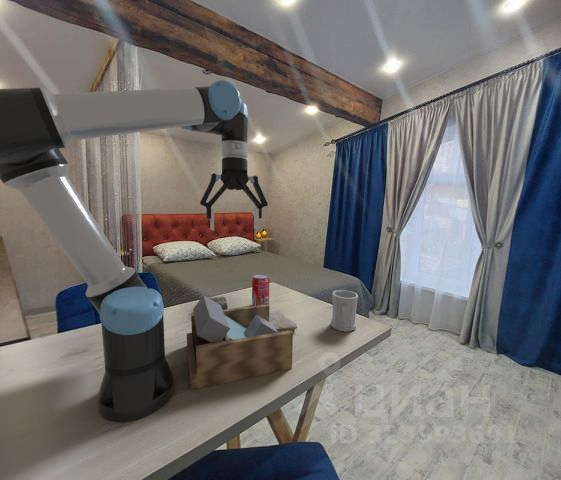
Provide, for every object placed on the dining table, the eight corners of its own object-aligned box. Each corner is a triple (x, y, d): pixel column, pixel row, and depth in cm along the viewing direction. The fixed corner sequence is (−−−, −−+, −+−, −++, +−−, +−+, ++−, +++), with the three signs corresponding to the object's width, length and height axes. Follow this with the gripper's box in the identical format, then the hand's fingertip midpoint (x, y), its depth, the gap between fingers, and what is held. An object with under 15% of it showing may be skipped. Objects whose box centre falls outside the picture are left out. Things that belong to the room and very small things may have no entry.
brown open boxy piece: (190, 390, 63) (189, 350, 62) (186, 345, 82) (185, 314, 80) (291, 368, 72) (292, 332, 71) (267, 332, 91) (267, 304, 90)
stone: (299, 332, 93) (299, 325, 92) (271, 339, 88) (271, 331, 87) (278, 315, 106) (278, 309, 105) (253, 320, 101) (253, 314, 100)
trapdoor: (197, 336, 64) (210, 318, 64) (192, 308, 79) (203, 294, 80) (271, 374, 72) (281, 357, 73) (253, 342, 88) (262, 329, 88)
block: (249, 341, 75) (262, 323, 75) (244, 331, 80) (256, 314, 81) (265, 350, 77) (278, 332, 77) (259, 340, 82) (271, 323, 83)
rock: (195, 310, 107) (195, 294, 107) (212, 304, 115) (212, 289, 114) (219, 319, 100) (220, 302, 99) (236, 312, 107) (236, 296, 106)
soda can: (272, 305, 115) (273, 275, 113) (262, 311, 109) (262, 279, 107) (258, 301, 119) (259, 272, 117) (248, 307, 112) (248, 276, 111)
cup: (364, 332, 93) (366, 298, 91) (342, 336, 90) (344, 301, 88) (346, 319, 103) (348, 288, 101) (325, 323, 99) (326, 291, 98)
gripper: (191, 152, 73) (193, 231, 76) (278, 159, 82) (277, 229, 85) (189, 156, 80) (191, 228, 83) (270, 162, 89) (269, 227, 92)
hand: (234, 229), depth 84 cm, fingers open, 13 cm apart
